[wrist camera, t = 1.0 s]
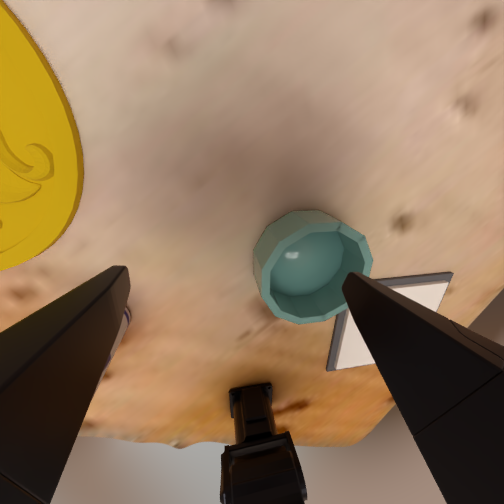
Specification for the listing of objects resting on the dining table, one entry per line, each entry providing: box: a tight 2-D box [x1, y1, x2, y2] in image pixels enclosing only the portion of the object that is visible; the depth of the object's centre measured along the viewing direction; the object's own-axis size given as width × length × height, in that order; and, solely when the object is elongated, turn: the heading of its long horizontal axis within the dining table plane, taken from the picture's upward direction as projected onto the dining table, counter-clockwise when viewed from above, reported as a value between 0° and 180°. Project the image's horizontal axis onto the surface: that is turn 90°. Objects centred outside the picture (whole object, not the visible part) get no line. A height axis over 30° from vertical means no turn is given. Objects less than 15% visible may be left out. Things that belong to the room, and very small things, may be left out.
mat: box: [326, 272, 454, 372], centre depth 31 cm, size 16×16×1 cm
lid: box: [334, 280, 449, 370], centre depth 29 cm, size 14×14×6 cm
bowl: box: [253, 210, 373, 324], centre depth 23 cm, size 11×11×4 cm
